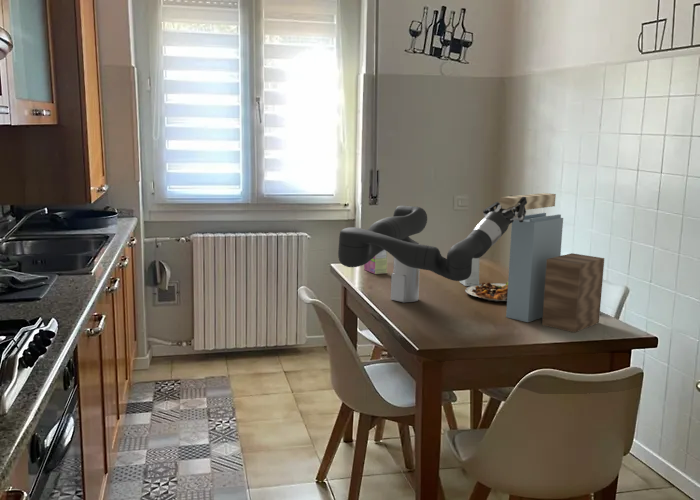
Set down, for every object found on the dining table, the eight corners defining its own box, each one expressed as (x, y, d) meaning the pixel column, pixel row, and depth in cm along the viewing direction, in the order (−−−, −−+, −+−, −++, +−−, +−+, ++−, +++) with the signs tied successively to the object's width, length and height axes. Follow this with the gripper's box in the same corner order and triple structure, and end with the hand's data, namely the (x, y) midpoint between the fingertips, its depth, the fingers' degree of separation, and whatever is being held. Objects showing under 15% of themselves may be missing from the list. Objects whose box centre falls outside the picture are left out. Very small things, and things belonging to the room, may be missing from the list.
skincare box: (479, 286, 271) (481, 248, 268) (464, 286, 270) (466, 248, 267) (472, 281, 279) (474, 245, 276) (458, 281, 278) (459, 245, 276)
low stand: (574, 332, 211) (580, 264, 208) (542, 324, 219) (546, 259, 215) (598, 322, 223) (604, 258, 219) (567, 315, 230) (571, 253, 227)
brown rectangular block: (511, 211, 209) (512, 198, 209) (499, 210, 212) (500, 197, 211) (554, 206, 227) (555, 194, 227) (543, 205, 230) (544, 193, 230)
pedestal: (527, 322, 222) (534, 219, 216) (506, 317, 227) (512, 216, 221) (556, 312, 234) (563, 214, 228) (535, 308, 240) (541, 212, 234)
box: (363, 269, 298) (364, 242, 296) (375, 269, 300) (376, 241, 298) (374, 274, 289) (375, 246, 287) (386, 273, 291) (387, 245, 289)
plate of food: (543, 291, 266) (543, 275, 265) (543, 308, 239) (543, 290, 238) (469, 287, 273) (469, 272, 272) (460, 303, 247) (461, 287, 246)
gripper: (507, 222, 199) (536, 189, 208) (466, 217, 209) (496, 186, 218) (513, 243, 203) (541, 210, 212) (472, 237, 213) (501, 206, 222)
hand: (518, 198), depth 215 cm, fingers closed on brown rectangular block, 4 cm apart
